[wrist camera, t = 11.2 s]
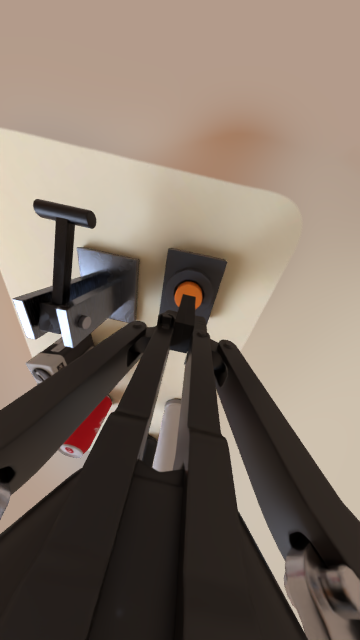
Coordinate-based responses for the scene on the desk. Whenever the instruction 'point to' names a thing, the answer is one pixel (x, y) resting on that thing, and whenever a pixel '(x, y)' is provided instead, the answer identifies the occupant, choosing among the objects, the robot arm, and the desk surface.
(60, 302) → the switch lever
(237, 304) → the desk surface
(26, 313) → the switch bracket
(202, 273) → the control block
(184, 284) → the button
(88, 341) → the camera
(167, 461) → the travel mug
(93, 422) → the beverage can
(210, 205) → the desk surface
